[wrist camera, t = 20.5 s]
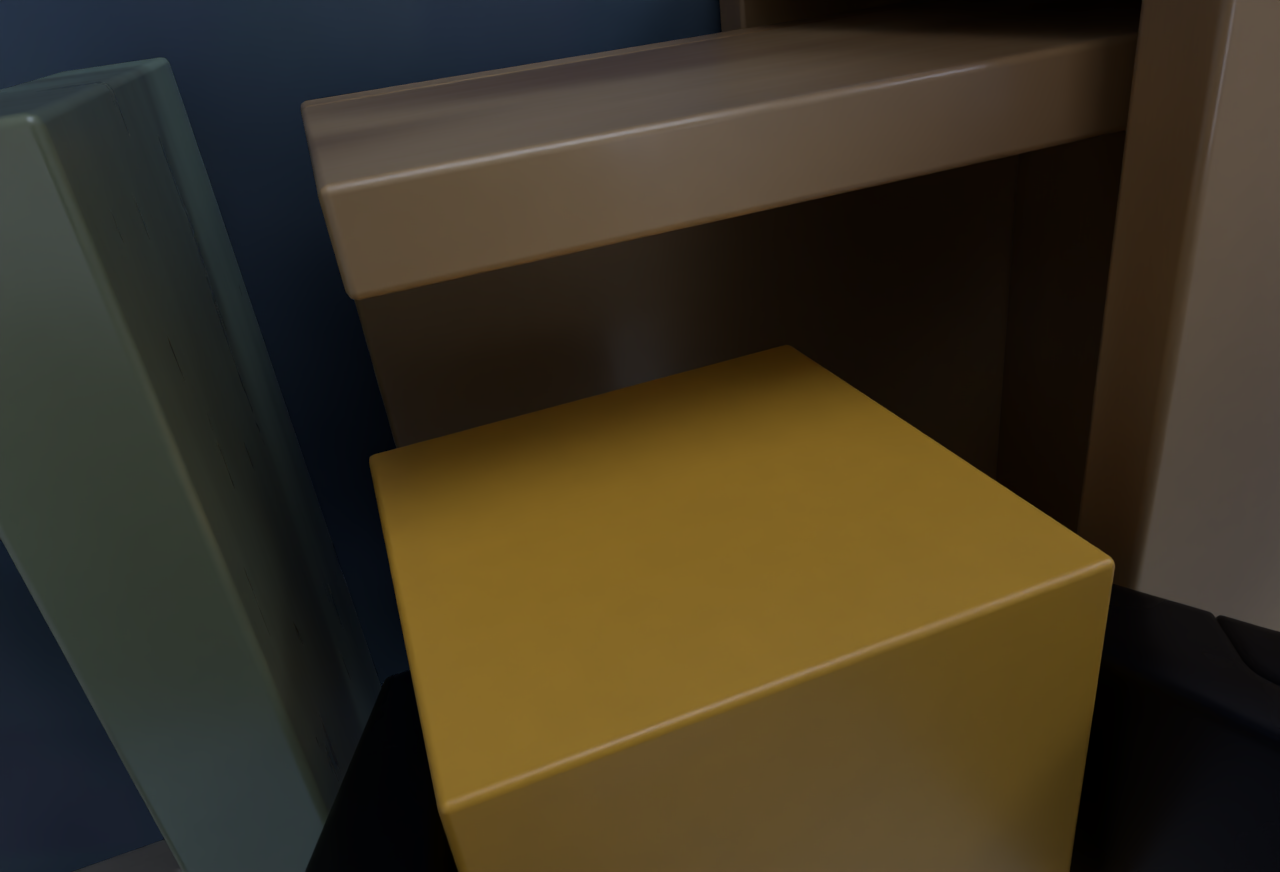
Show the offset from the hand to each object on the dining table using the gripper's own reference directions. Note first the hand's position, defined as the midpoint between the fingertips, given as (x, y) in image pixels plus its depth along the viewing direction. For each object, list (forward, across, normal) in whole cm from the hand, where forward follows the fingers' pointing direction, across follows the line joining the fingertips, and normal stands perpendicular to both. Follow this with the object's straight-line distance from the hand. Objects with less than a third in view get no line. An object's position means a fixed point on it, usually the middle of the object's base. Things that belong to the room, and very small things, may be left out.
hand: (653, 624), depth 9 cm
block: (+1, 0, 0) cm, 1 cm away
